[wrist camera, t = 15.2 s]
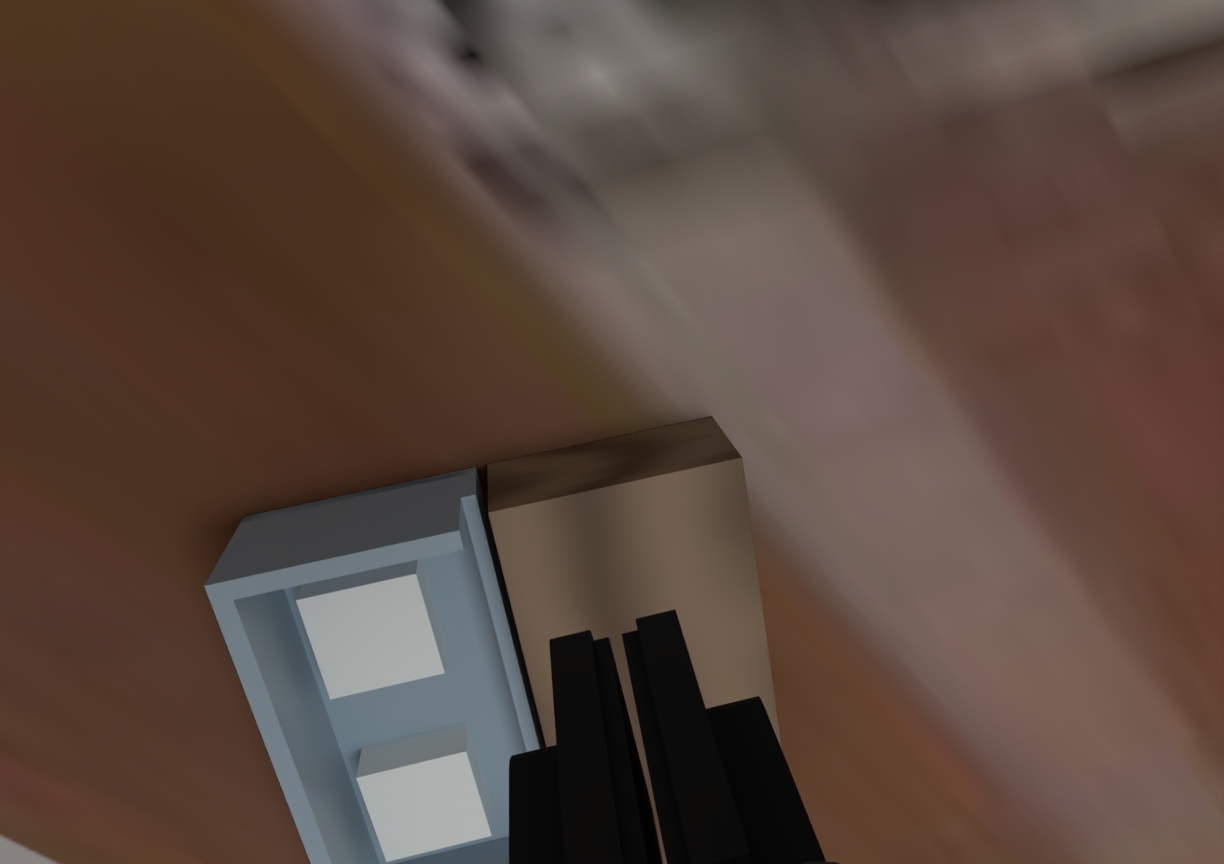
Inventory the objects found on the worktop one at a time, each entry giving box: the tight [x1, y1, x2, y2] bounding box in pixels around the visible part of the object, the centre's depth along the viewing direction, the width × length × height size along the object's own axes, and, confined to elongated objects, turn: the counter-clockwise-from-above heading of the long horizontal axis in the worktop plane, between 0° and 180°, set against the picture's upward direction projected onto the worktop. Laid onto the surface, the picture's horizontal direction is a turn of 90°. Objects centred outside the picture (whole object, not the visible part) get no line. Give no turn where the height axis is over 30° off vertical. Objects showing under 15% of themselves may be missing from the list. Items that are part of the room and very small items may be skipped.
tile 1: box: [296, 559, 446, 700], centre depth 40 cm, size 5×5×2 cm
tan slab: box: [487, 416, 782, 864], centre depth 41 cm, size 10×20×5 cm, turn 10°
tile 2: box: [356, 723, 492, 862], centre depth 43 cm, size 5×5×2 cm
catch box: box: [204, 467, 546, 864], centre depth 40 cm, size 10×20×6 cm, turn 10°
